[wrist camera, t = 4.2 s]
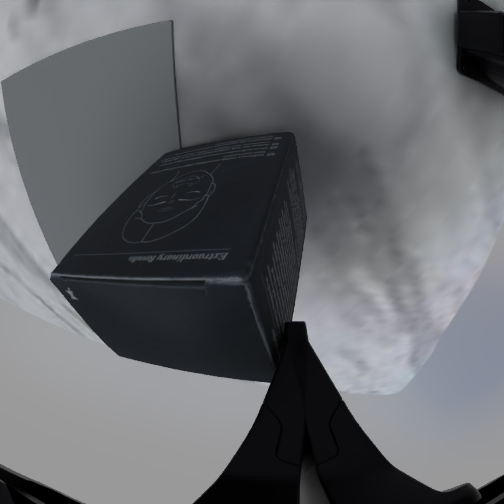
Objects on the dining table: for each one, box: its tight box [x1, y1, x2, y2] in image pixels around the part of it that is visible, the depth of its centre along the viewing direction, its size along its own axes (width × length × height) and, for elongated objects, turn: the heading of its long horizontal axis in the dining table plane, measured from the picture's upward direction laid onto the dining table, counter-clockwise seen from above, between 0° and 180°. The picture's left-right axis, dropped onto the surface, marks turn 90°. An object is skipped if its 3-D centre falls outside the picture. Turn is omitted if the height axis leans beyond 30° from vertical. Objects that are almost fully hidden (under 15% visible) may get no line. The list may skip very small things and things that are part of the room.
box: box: [50, 132, 307, 383], centre depth 13 cm, size 8×6×11 cm
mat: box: [1, 20, 181, 265], centre depth 17 cm, size 14×20×1 cm
